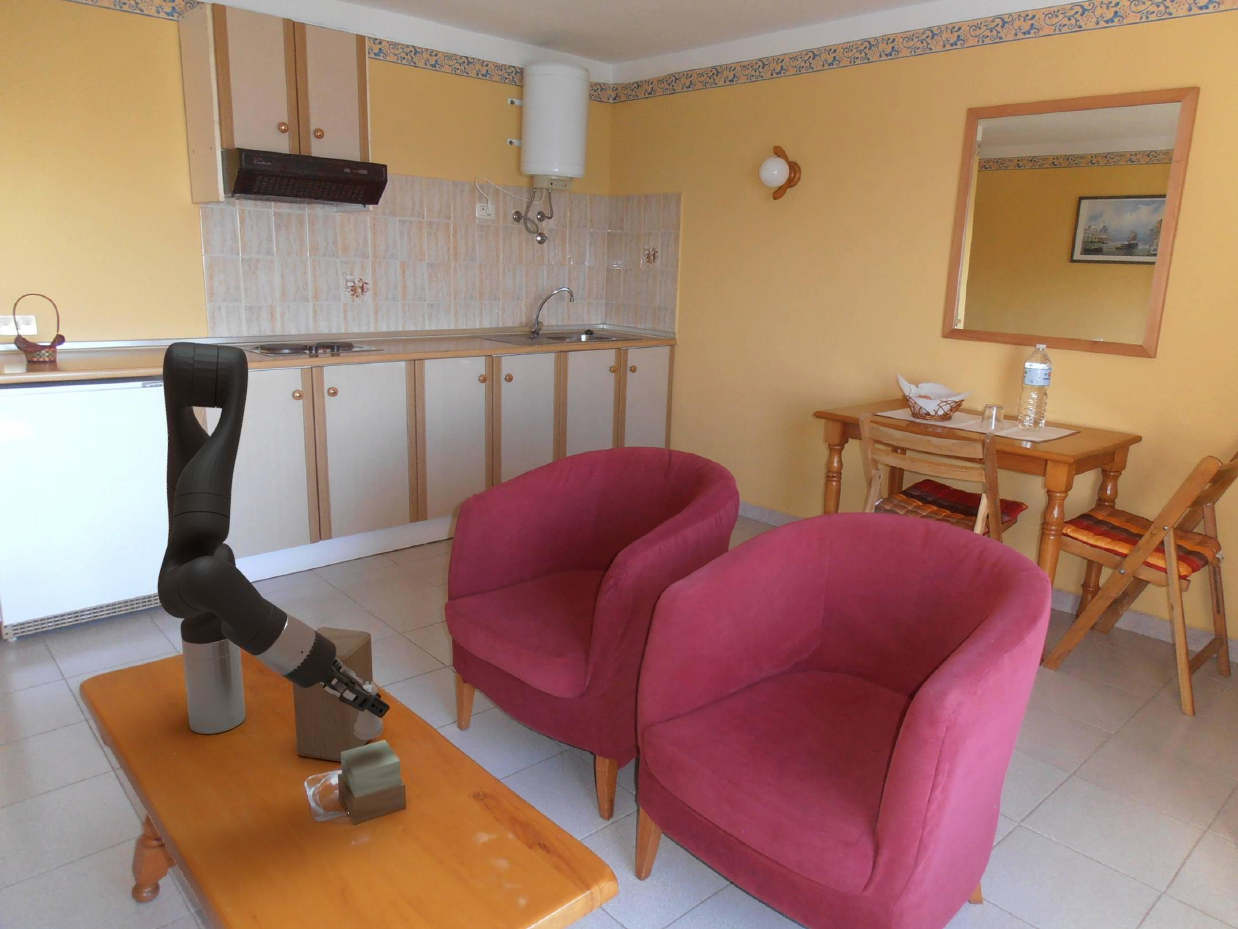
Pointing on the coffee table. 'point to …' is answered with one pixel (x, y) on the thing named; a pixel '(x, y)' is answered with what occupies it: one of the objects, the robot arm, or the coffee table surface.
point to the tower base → (371, 802)
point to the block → (332, 701)
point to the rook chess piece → (368, 720)
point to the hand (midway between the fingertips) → (380, 706)
